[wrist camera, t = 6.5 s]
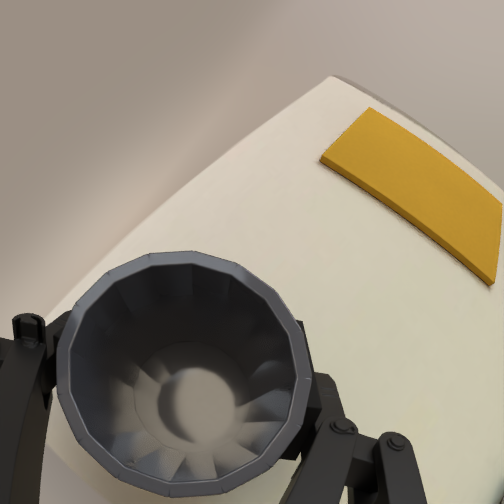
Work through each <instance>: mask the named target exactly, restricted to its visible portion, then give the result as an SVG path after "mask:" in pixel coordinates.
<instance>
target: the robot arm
mask: <svg viewBox="0 0 504 504" xmlns="http://www.w3.org/2000/svg"><path fill="white" fill-rule="evenodd" d="M71 311H72V310H70V311H67V312H64V313H63V314H62V315H60V316H59V317H58V318H57V319H55V320H54V321H53V322H51V323H50V324H49V325H48V326H46V327H45V321H44V319H43V318H42V317H40V316H39V315H36V314H33V313H32V314H31V313H24V314H19V315H17V316H15V317H14V318H13V319H12V324H13V333H14V340H9V339H5V338H0V504H39V496H40V482H41V472H42V463H43V454H44V447H45V440H46V433H47V427H48V421H49V415H50V410H51V405H52V400H53V395H52V389H53V388H54V387H55V386H56V385H57V381H56V353H57V345H58V342H59V339H60V337H61V335H62V332H63V330H64V327H65V325H66V322H67V320H68V318H69V315H70V313H71ZM296 321H297V323H298V324H299V326H300V327H301V329H302V331H303V334H304V339H305V344H306V349H307V354H308V358H309V363H310V368H311V373H312V383H311V388H310V393H309V398H308V402H307V407H306V412H305V416H304V421H303V425H302V426H301V429H300V431H299V432H298V433H297V435H296V436H295V438H294V439H293V440H292V442H291V443H290V445H289V446H288V447H287V449H286V450H285V451H284V453H283V454H282V455H281V457H280V458H279V459H286V460H294V461H296V459H297V457H298V455H299V453H300V452H301V462H300V464H299V465H298V467H297V469H296V471H295V472H294V474H293V476H292V477H291V481H290V483H289V485H288V487H287V489H286V491H285V493H284V495H283V497H282V499H281V501H280V502H279V504H339V502H340V499H341V495H342V492H343V489H344V486H347V487H348V504H427V500H426V496H425V492H424V488H423V484H422V480H421V476H420V473H419V469H418V465H417V462H416V458H415V454H414V451H413V447H412V445H411V443H410V441H409V440H408V439H407V438H406V437H405V436H403V435H401V434H399V433H396V432H385V433H383V434H382V435H381V436H380V437H379V439H374V438H371V437H367V436H364V435H362V434H359V433H358V428H357V427H356V425H355V424H354V423H353V422H352V421H351V420H349V419H347V418H346V417H345V414H344V410H343V407H342V404H341V400H340V398H339V394H338V391H337V387H336V384H335V381H334V380H333V379H332V378H331V377H330V376H329V375H328V374H323V373H317V372H314V368H313V364H312V360H311V355H310V351H309V347H308V342H307V338H306V334H305V330H304V325H303V321H299V320H296Z"/></svg>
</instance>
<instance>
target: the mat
mask: <svg viewBox="0 0 504 504" xmlns="http://www.w3.org/2000/svg"><path fill="white" fill-rule="evenodd" d="M320 162H322V163H324V164H325V165H327V166H328V167H330V168H332V169H333V170H335V171H336V172H338V173H340V174H341V175H343V176H344V177H346V178H347V179H349V180H350V181H352V182H353V183H355V184H356V185H358V186H359V187H361V188H362V189H364V190H365V191H367V192H368V193H370V194H371V195H373V196H374V197H376V198H377V199H379V200H380V201H382V202H383V203H384V204H386V205H387V206H389V207H390V208H391V209H393V210H394V211H396V212H397V213H398V214H400V215H401V216H403V217H404V218H405V219H407V220H408V221H409V222H411V223H412V224H413V225H415V226H416V227H417V228H419V229H420V230H421V231H423V232H424V233H425V234H427V235H428V236H429V237H431V238H432V239H433V240H434V241H436V242H437V243H438V244H440V245H441V246H442V247H443V248H445V249H446V250H447V251H448V252H450V253H451V254H452V255H453V256H454V257H456V258H457V259H458V260H459V261H461V262H462V263H463V264H464V265H465V266H467V267H468V268H469V269H470V270H471V271H472V272H474V273H475V274H476V275H477V276H478V277H479V278H481V279H482V280H483V281H484V282H485V283H486V284H487V285H489V286H491V285H492V284H494V283H495V277H496V271H497V263H498V255H499V246H500V235H501V222H502V203H501V202H499V201H498V200H497V199H496V198H495V197H494V196H493V195H492V194H490V193H489V192H488V191H487V190H486V189H485V188H484V187H482V186H481V185H480V184H479V183H478V182H476V181H475V180H474V179H473V178H472V177H470V176H469V175H468V174H467V173H465V172H464V171H463V170H462V169H460V168H459V167H458V166H456V165H455V164H454V163H453V162H451V161H450V160H449V159H447V158H446V157H445V156H443V155H442V154H441V153H439V152H438V151H436V150H435V149H434V148H432V147H431V146H430V145H428V144H427V143H425V142H424V141H422V140H421V139H419V138H418V137H417V136H415V135H414V134H412V133H411V132H409V131H408V130H406V129H405V128H403V127H401V126H400V125H398V124H397V123H395V122H394V121H392V120H390V119H389V118H387V117H386V116H384V115H382V114H381V113H379V112H377V111H376V110H374V109H372V108H371V107H369V108H368V109H367V110H366V111H365V112H364V113H363V114H362V115H361V116H360V117H359V118H358V119H357V120H356V121H355V122H354V123H353V124H352V125H351V126H350V127H349V128H348V129H347V130H346V131H345V132H344V133H343V134H342V135H341V136H340V137H339V138H338V139H337V140H336V141H335V142H334V143H333V144H332V145H331V146H330V147H329V148H328V149H327V150H326V151H325V152H324V153H323V154H322V156H321V159H320Z"/></svg>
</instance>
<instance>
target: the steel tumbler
mask: <svg viewBox="0 0 504 504" xmlns="http://www.w3.org/2000/svg"><path fill="white" fill-rule="evenodd" d="M75 304H76V305H74V306H73V309H72V311H71V313H70V315H69V318H68V320H67V322H66V325H65V327H64V330H63V332H62V335H61V337H60V339H59V342H58V345H57V353H56V381H57V395H58V396H57V397H58V399H59V402H60V404H61V407H62V409H63V412H64V414H65V416H66V419H67V421H68V423H69V425H70V428H71V430H72V432H73V434H74V436H75V438H76V440H77V442H78V443H79V444H80V445H81V446H82V447H83V448H84V449H85V450H86V451H87V452H88V453H89V454H90V455H91V456H92V457H93V458H94V459H95V460H96V461H97V462H98V463H99V464H100V465H101V466H102V467H103V468H105V469H106V470H107V471H108V472H109V473H110V474H111V475H112V476H114V477H115V478H118V480H120V481H122V482H125V483H127V484H130V485H133V486H135V487H138V488H141V489H144V490H146V491H149V492H152V493H155V494H158V495H161V496H164V497H170V498H183V497H199V496H211V495H221V494H223V493H227V492H229V491H231V490H233V489H235V488H237V487H239V486H241V485H243V484H245V483H246V482H248V481H250V480H252V479H254V478H256V477H257V476H259V475H261V474H263V473H264V472H266V471H268V470H269V469H270V467H273V466H274V464H275V463H276V462H277V461H278V459H279V458H280V457H281V455H282V454H283V453H284V451H285V450H286V449H287V447H288V446H289V445H290V443H291V442H292V440H293V439H294V438H295V436H296V435H297V433H298V432H299V431H300V429H301V426H302V425H303V421H304V416H305V412H306V407H307V402H308V398H309V393H310V388H311V383H312V373H311V368H310V363H309V358H308V354H307V349H306V344H305V339H304V334H303V331H302V329H301V327H300V326H299V324H298V323H297V321H296V320H295V318H294V317H293V315H292V314H291V312H290V311H289V309H288V308H287V306H286V305H285V303H284V302H283V300H282V299H281V297H280V296H279V294H278V293H277V292H276V291H275V290H274V289H273V288H272V287H270V286H269V285H267V284H266V283H265V282H263V281H262V280H261V279H259V278H258V277H256V276H255V275H254V274H252V273H251V272H249V271H248V270H247V269H245V268H244V267H243V266H241V265H240V264H237V263H235V262H232V261H228V260H225V259H221V258H218V257H214V256H211V255H207V254H204V253H200V252H197V251H178V252H162V253H149V255H148V254H146V255H143V256H141V257H139V258H136V259H134V260H132V261H130V262H127V263H125V264H123V265H121V266H118V267H116V268H114V269H112V270H109V271H108V272H106V273H105V274H104V275H103V276H102V277H101V278H100V279H99V280H98V281H97V282H96V283H95V284H94V285H93V286H92V287H91V288H90V289H89V290H88V291H87V292H86V293H85V294H84V295H83V296H82V297H81V298H80V299H79V300H78V301H77V302H76V303H75Z"/></svg>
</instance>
